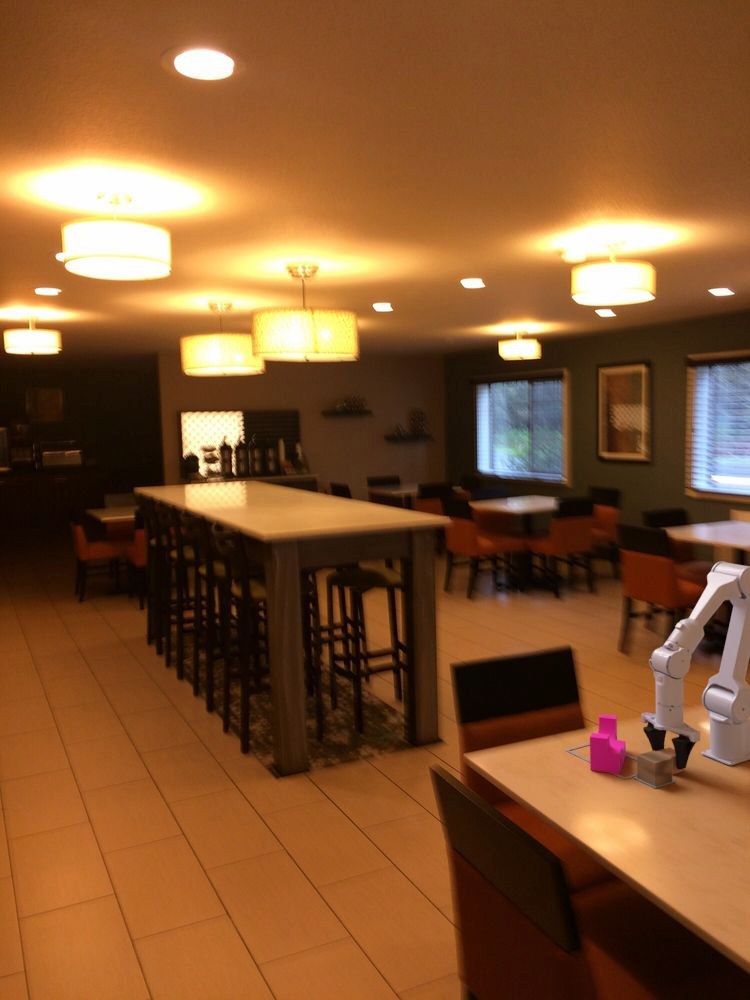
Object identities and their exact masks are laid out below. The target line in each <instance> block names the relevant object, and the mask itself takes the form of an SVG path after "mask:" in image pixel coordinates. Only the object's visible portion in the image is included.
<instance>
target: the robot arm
mask: <svg viewBox="0 0 750 1000" xmlns="http://www.w3.org/2000/svg"><path fill="white" fill-rule="evenodd" d="M706 580H707V584H706V587H705V589H704V590H703V592H702V593H701V596H700V598H699V599H698V601H697V603H696V605H695V607H694V608H693V609H692V611H691V613H690V616H689V617H687V618H684V619H681V620H680V621H679V622H677V623H676V625H675V626H674V627H675V628H674V629H673V631H672V632H671V633H670V635H669V636H668V638H667V639H666V640H665V642H664V644H663V645H662V646H660V647H657V648H656V649H655V650H653V652H652V653H651V657H650V659H648V664H649V667H650V669H651V670H652V671H653V672H652V673H653V678H654V681H655V713H650V712H648V711H647V712H643V713H641V715H640V717H641V718H640V719H641V720H640V721H641V723H643V724H647V726H644V727H643V733H644V734H645V736H646V737H647V740H648V741H649V744H650V747H651V751H659V750H662V749H665V742H666V741H665V740H666V734H667V732H670V733H673V734H675V735H677V736H676V737H673V738H671V742H672V745H673V747H674V748H673V749H674V750H675V754H676V766H677V769H679V770H681V769H684V770H685V769H686V768H687V764H688V761H689V758H690V755H691V753H692V750H693V748H694V747H695V745H696V743H698V742H700V741H701V731H699V730H696V729H695V728H693V727H692V726H691V725H689V724H688V723H686V722H685V720H684V719H685V718H684V717H685V716H684V715H685V714H684V713H685V711H684V710H685V709H684V707H685V706H684V677H685V676H686V675H687V674H688V673H689V672H690V667H691V660H692V657H693V656H692V654H693V653H694V652H695V650H696V648H697V647H698V645H699V644H700V643H701V641H702V640H703V638H704V636H705V631H704V626H705V625H706V624H707V623H708V621H709V620H710V619H711V618H712V616H713V615H714V614H715V613H716V612H717V610H718V609H719V608H720V607H721V605H722V604H723V602H724V601H729V602H730V603H731V604H732V606H733V607H732V611H731V616H730V621H729V626H728V630H727V633H726V639H725V644H724V648H723V652H722V657H721V662H720V666H719V671H718V673H717V674H716V673H715V674H714V675H713V676H711V677H709V679H708V682H707V685H706V687H705V688H704V690H703V692H702V695H701V703H702V706H703V707H704V709H705V710H707V713H706V714H707V715H708V716H709V749H706V750H702V751H701V752H700V754H701V755H702V756H706V757H708V758H710V759H712V760H715V761H718V762H720V763H723V764H724V765H727V766H734V765H737V764H740V763H743V762H746V761H750V685H749V684H748V682H747V681H746V676H747V671H748V667H749V662H750V565H742V564H737V563H732V562H731V563H730V562H727V561H722V560H721V561H718V562H716V563H715V564H714V565H713V566H712V568H711V570H710V572H708V574H707V575H706Z"/></svg>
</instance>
